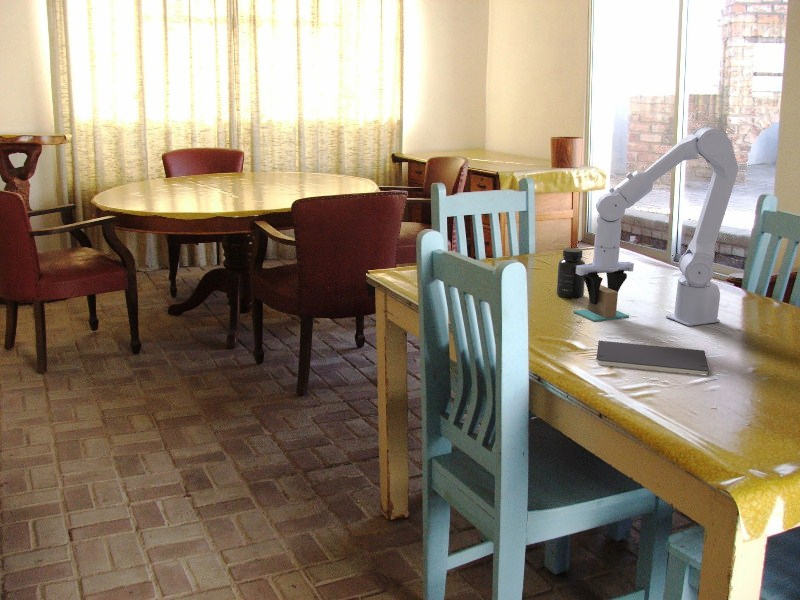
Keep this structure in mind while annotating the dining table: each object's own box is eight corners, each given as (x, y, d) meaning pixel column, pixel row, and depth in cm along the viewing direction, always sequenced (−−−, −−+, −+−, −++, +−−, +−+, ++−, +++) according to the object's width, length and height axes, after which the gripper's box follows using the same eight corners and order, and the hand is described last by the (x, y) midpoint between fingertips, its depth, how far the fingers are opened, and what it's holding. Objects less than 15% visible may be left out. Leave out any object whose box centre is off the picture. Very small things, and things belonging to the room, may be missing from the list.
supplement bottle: (563, 290, 224) (566, 245, 221) (587, 295, 220) (591, 249, 217) (551, 296, 219) (554, 250, 215) (576, 301, 215) (580, 254, 212)
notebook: (703, 357, 177) (597, 347, 182) (704, 350, 176) (598, 340, 181) (709, 378, 165) (595, 366, 170) (709, 370, 165) (596, 359, 170)
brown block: (587, 310, 206) (589, 285, 204) (598, 308, 207) (600, 284, 205) (604, 318, 199) (607, 293, 198) (615, 316, 200) (618, 292, 199)
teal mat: (607, 308, 209) (607, 306, 209) (628, 317, 202) (629, 315, 202) (573, 312, 205) (573, 310, 205) (593, 321, 198) (593, 319, 198)
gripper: (589, 251, 193) (585, 309, 196) (643, 247, 198) (638, 304, 201) (572, 245, 199) (568, 301, 203) (625, 241, 204) (620, 296, 208)
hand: (602, 302), depth 203 cm, fingers open, 4 cm apart
